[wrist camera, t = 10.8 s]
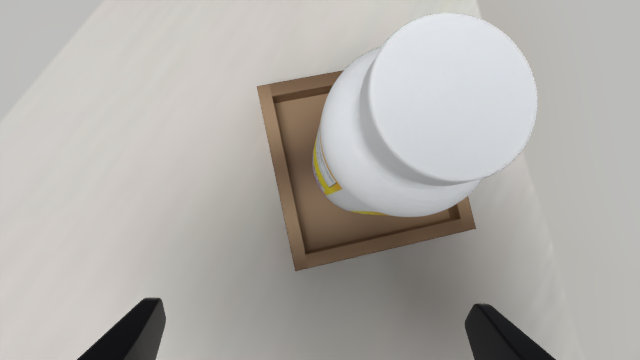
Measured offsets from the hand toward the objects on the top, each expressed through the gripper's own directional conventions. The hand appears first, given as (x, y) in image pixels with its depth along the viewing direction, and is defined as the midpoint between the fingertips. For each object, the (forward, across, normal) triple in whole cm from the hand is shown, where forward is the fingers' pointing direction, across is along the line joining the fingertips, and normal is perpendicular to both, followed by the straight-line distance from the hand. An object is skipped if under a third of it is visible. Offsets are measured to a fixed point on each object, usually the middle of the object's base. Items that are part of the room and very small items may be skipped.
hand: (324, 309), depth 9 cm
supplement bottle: (+13, -4, +2) cm, 13 cm away
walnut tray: (+13, -4, +2) cm, 14 cm away
